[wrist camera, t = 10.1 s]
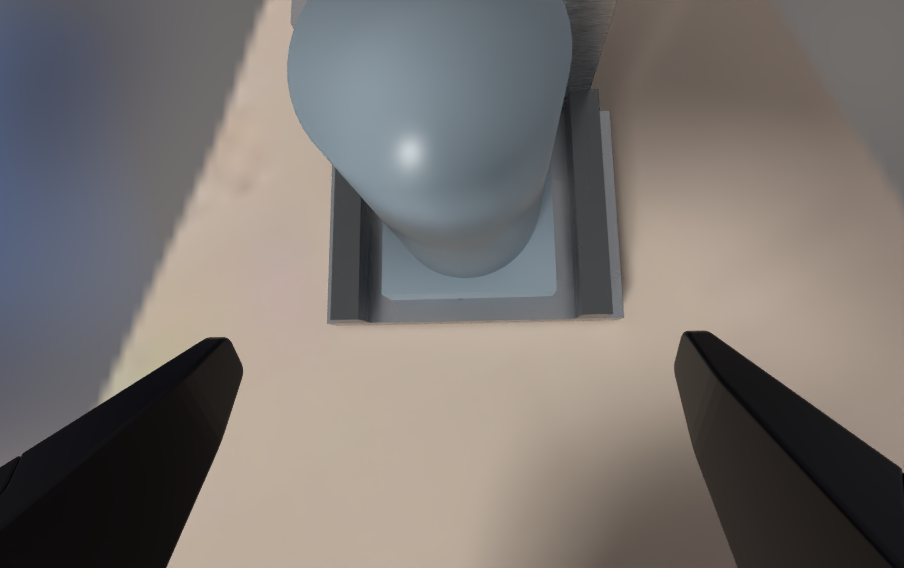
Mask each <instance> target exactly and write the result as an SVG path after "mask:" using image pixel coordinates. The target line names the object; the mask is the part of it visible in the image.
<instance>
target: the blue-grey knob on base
mask: <svg viewBox="0 0 904 568" xmlns="http://www.w3.org/2000/svg"><path fill="white" fill-rule="evenodd" d="M571 60H572V34H571V27H570V21H569V17H568V14H567V10H566V7H565V4H564V2H563V0H308V1H307V3H306V4H305V6H304V8H303V10H302V12H301V14H300V16H299V18H298V21H297V23H296V26H295V28H294V31H293V35H292V38H291V42H290V46H289V54H288V62H287V72H288V85H289V92H290V97H291V100H292V104H293V107H294V110H295V113H296V115H297V117H298V119H299V121H300V123H301V125H302V127H303V129H304V130H305V132H306V133H307V135H308V136H309V138H310V139H311V141H312V142H313V143H314V144H315V145H316V147H317V148H318V149H319V150H320V151H321V152H322V153H323V154H324V156H325V157H326V158H327V159H328V160H329V161H330V162H331V163H332V165H333V166H334V167H335V168H336V169H337V170H338V171H339V172H340V174H341V175H342V176H343V177H344V178H345V179H346V180H347V181H348V183H349V184H350V185H351V186H352V187H353V188H354V189H355V190H356V192H357V193H358V194H359V195H360V196H361V197H362V198H363V199H364V201H365V202H366V203H367V204H368V205H369V206H370V207H371V208H372V210H373V211H374V212H375V213H376V214H377V215H378V216H379V217H380V219H381V220H382V221H383V234H382V295H383V296H385V297H387V298H389V299H391V300H419V299H459V298H499V297H538V296H553V295H554V293H555V292H556V291H557V282H556V261H555V240H554V219H553V198H552V176H551V154H552V150H553V145H554V141H555V136H556V132H557V127H558V123H559V118H560V114H561V109H562V104H563V100H564V95H565V91H566V86H567V82H568V77H569V72H570V66H571Z"/></svg>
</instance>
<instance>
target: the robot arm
mask: <svg viewBox="0 0 904 568" xmlns="http://www.w3.org/2000/svg"><path fill="white" fill-rule="evenodd" d="M674 372H675V377H676V381H677V385H678V390H679V394H680V398H681V402H682V406H683V410H684V414H685V418H686V422H687V426H688V430H689V434H690V438H691V442H692V446H693V449H694V452H695V455H696V458H697V461H698V463H699V466H700V469H701V471H702V474H703V477H704V479H705V482H706V485H707V487H708V490H709V493H710V495H711V498H712V501H713V503H714V506H715V509H716V511H717V514H718V517H719V519H720V522H721V525H722V527H723V530H724V533H725V535H726V538H727V541H728V543H729V546H730V549H731V551H732V554H733V557H734V559H735V562H736V564H737V567H738V568H904V473H903V472H902V469H901V468H900V467H899V466H897V465H896V464H894V463H893V462H892V461H890V460H889V459H887V458H886V457H885V456H883V455H882V454H880V453H879V452H878V451H876V450H875V449H873V448H872V447H871V446H869V445H868V444H866V443H865V442H864V441H862V440H861V439H859V438H858V437H857V436H855V435H854V434H852V433H851V432H850V431H848V430H847V429H845V428H844V427H843V426H841V425H840V424H838V423H837V422H836V421H834V420H833V419H831V418H830V417H828V416H827V415H826V414H824V413H823V412H821V411H820V410H819V409H817V408H816V407H814V406H813V405H812V404H810V403H809V402H807V401H806V400H805V399H803V398H802V397H800V396H799V395H798V394H796V393H795V392H793V391H792V390H791V389H789V388H788V387H786V386H785V385H784V384H782V383H781V382H779V381H778V380H777V379H775V378H774V377H772V376H771V375H770V374H768V373H767V372H765V371H764V370H762V369H761V368H760V367H758V366H757V365H755V364H754V363H753V362H751V361H750V360H748V359H747V358H746V357H744V356H743V355H741V354H740V353H739V352H737V351H736V350H734V349H733V348H732V347H730V346H729V345H727V344H726V343H725V342H723V341H722V340H720V339H719V338H718V337H716V336H715V335H713V334H712V333H710V332H708V331H686V332H684V333H683V335H682V337H681V340H680V344H679V347H678V351H677V355H676V359H675V363H674ZM242 376H243V367H242V363H241V361H240V359H239V357H238V355H237V353H236V351H235V349H234V347H233V345H232V342H231V341H230V340H229V339H228V338H225V337H210V338H206V339H204V340H202V341H201V342H199V343H197V344H196V345H194V346H193V347H191V348H190V349H188V350H186V351H185V352H183V353H182V354H180V355H178V356H177V357H175V358H174V359H172V360H170V361H169V362H167V363H166V364H164V365H162V366H161V367H159V368H158V369H156V370H155V371H153V372H151V373H150V374H148V375H147V376H145V377H143V378H142V379H140V380H139V381H137V382H135V383H134V384H132V385H131V386H129V387H127V388H126V389H124V390H123V391H121V392H120V393H118V394H116V395H115V396H113V397H112V398H110V399H108V400H107V401H105V402H104V403H102V404H100V405H99V406H97V407H96V408H94V409H92V410H91V411H89V412H88V413H86V414H85V415H83V416H81V417H80V418H79V419H77V420H75V421H74V422H72V423H70V424H69V425H67V426H66V427H64V428H62V429H61V430H59V431H57V432H56V433H54V434H53V435H51V436H50V437H48V438H46V439H45V440H43V441H42V442H40V443H38V444H37V445H35V446H34V447H32V448H31V449H29V450H27V451H26V452H24V453H23V454H22V456H18V457H16V458H15V459H13V460H11V461H10V462H8V463H6V464H5V465H3V466H2V467H0V568H166V567H167V565H168V563H169V560H170V558H171V556H172V554H173V551H174V549H175V547H176V545H177V542H178V540H179V538H180V535H181V533H182V531H183V529H184V526H185V524H186V522H187V519H188V517H189V515H190V513H191V510H192V508H193V506H194V504H195V501H196V499H197V497H198V494H199V492H200V490H201V488H202V485H203V483H204V481H205V478H206V476H207V474H208V472H209V469H210V467H211V465H212V463H213V460H214V458H215V456H216V453H217V451H218V449H219V446H220V444H221V441H222V438H223V435H224V433H225V430H226V426H227V423H228V420H229V417H230V414H231V411H232V408H233V405H234V401H235V398H236V395H237V392H238V389H239V386H240V383H241V380H242Z"/></svg>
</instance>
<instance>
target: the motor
mask: <svg viewBox="0 0 904 568" xmlns="http://www.w3.org/2000/svg"><path fill="white" fill-rule="evenodd" d="M307 1H308V0H292V7H291V25H292V26H293V28H295V26H296V23H297V21H298V18H299V16H300V14H301V12H302V10H303V8H304V6H305V4H306V3H307ZM563 2H564V4H565V7H566V10H567V14H568V17H569V21H570V27H571V34H572V60H571V66H570V72H569V77H568V82H567V86H566V91H565V95H564V100H563V104H562V109H561V114H560V118H559V123H558V127H557V132H556V136H555V141H554V145H553V150H552V154H551V176H552V198H553V219H554V240H555V261H556V282H557V291H556V292H555V293H554V295H553V296H538V297H499V298H459V299H419V300H391V299H389V298H387V297H385V296H383V295H382V234H383V221H382V220H381V219H380V217H379V216H378V215H377V214H376V213H375V212H374V211H373V210H372V208H371V207H370V206H369V205H368V204H367V203H366V202H365V201H364V199H363V198H362V197H361V196H360V195H359V194H358V193H357V192H356V190H355V189H354V188H353V187H352V186H351V185H350V184H349V183H348V181H347V180H346V179H345V178H344V177H343V176H342V175H341V174H340V172H339V171H338V170H337V169H336V168H335V167H334V166H333V165H332V190H331V220H330V251H329V282H328V312H327V324H331V325H336V326H340V325H391V324H442V323H493V322H544V321H595V320H619V319H622V318H624V311H623V297H622V282H621V268H620V254H619V240H618V226H617V211H616V197H615V183H614V169H613V154H612V140H611V126H610V112H609V110H605V111H600V108H599V93H598V89H597V90H590V87H591V84H592V81H593V77H594V74H595V71H596V68H597V64H598V61H599V58H600V55H601V51H602V48H603V45H604V42H605V38H606V35H607V32H608V29H609V26H610V22H611V19H612V16H613V13H614V9H615V6H616V3H617V0H563Z"/></svg>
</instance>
